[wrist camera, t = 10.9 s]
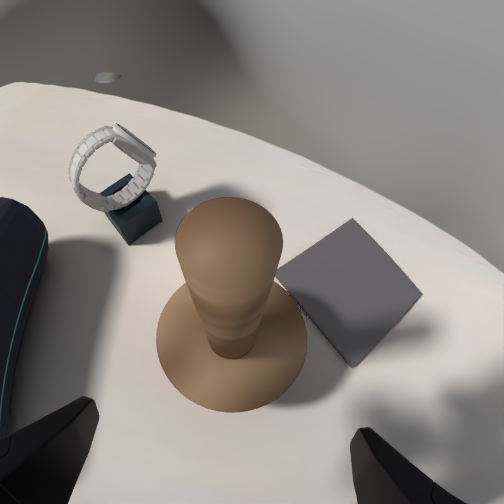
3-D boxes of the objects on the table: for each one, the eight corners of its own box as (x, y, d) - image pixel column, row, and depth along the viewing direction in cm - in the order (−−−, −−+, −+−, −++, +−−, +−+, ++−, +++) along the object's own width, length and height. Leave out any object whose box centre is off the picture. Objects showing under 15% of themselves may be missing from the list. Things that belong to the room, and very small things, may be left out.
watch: (177, 210, 29) (159, 122, 19) (115, 256, 26) (67, 178, 16) (150, 183, 31) (128, 102, 21) (92, 223, 28) (51, 147, 18)
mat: (419, 294, 25) (421, 293, 25) (351, 367, 22) (353, 367, 21) (351, 220, 30) (352, 218, 29) (273, 273, 26) (273, 271, 25)
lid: (332, 352, 18) (445, 274, 8) (213, 439, 15) (177, 501, 4) (247, 250, 22) (261, 107, 11) (134, 318, 19) (40, 210, 8)
